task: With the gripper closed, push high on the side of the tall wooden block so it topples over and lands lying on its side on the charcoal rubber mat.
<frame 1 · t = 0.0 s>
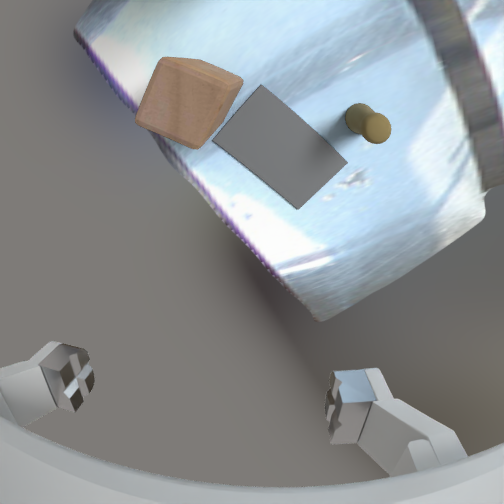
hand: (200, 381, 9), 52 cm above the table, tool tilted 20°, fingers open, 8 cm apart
wooden block: (209, 91, 50), on the table
mat: (281, 149, 56), on the table
cork: (360, 118, 51), on the table
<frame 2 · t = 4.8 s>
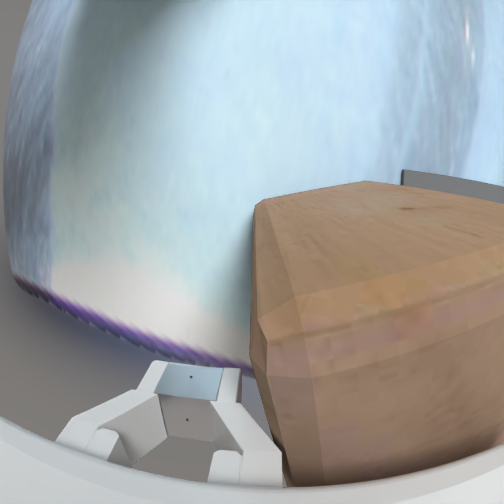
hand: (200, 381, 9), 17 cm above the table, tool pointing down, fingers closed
wooden block: (323, 249, 25), on the table, touching gripper
mat: (485, 254, 24), on the table
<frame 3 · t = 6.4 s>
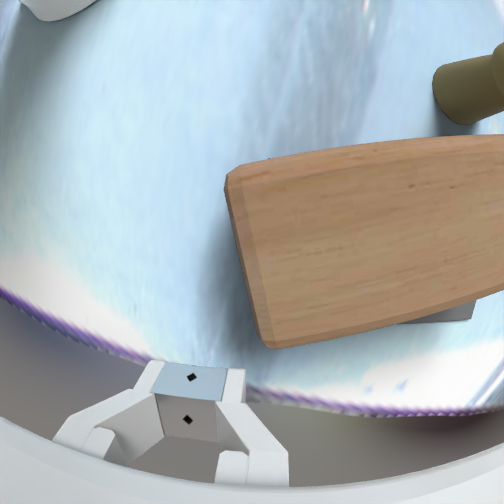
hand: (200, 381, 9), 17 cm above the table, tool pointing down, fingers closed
wooden block: (243, 248, 20), point 5 cm above the table, touching mat
mat: (393, 250, 24), on the table
cork: (457, 94, 20), on the table
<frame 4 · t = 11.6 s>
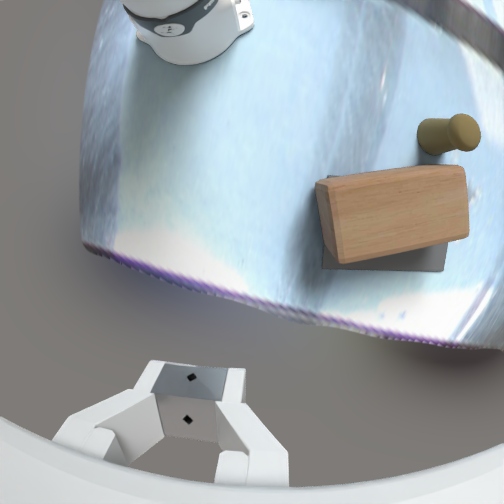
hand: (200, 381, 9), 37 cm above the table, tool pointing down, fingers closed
wooden block: (322, 220, 39), point 5 cm above the table, touching mat
mat: (392, 226, 44), on the table
cork: (432, 136, 40), on the table
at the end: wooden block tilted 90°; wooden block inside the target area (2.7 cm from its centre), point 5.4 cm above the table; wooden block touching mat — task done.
